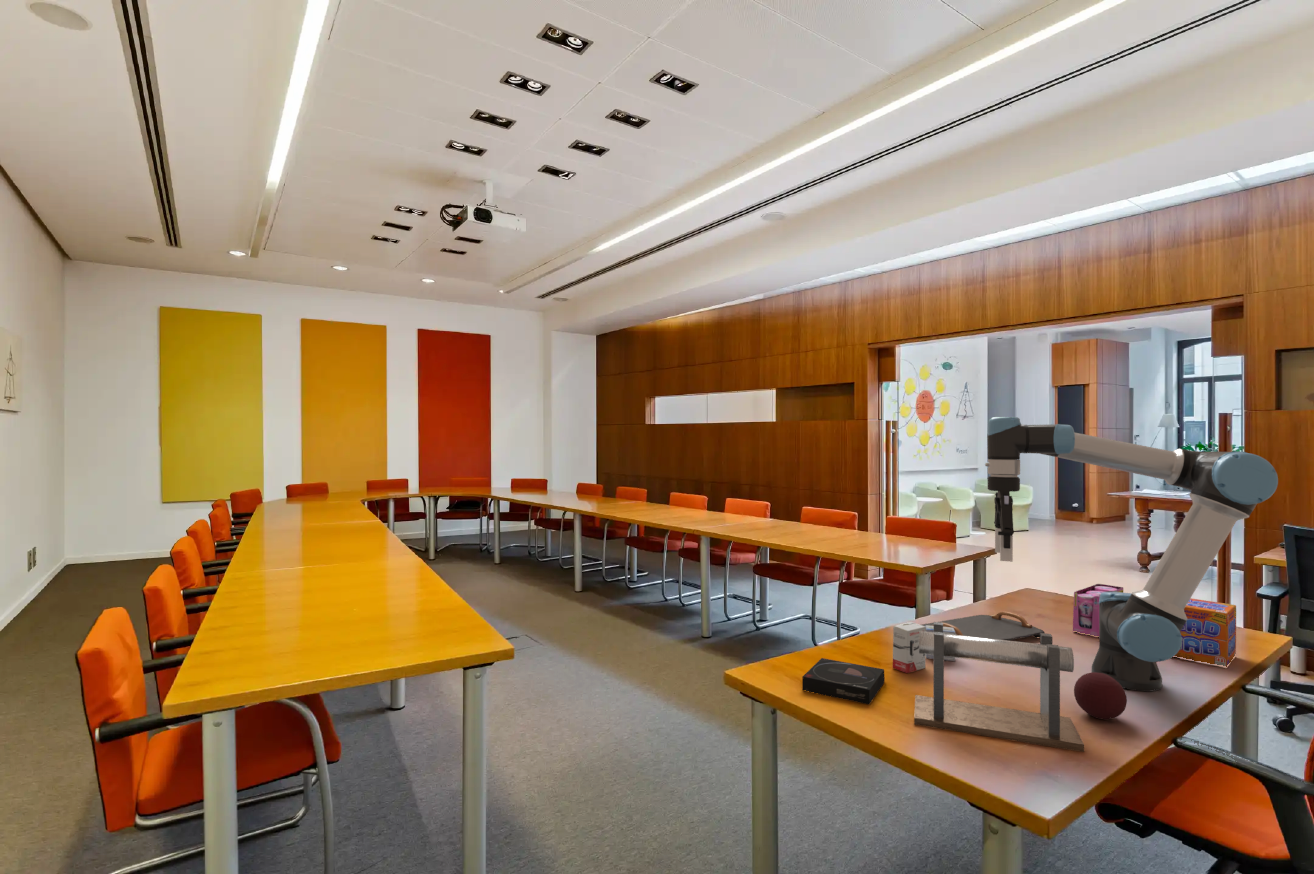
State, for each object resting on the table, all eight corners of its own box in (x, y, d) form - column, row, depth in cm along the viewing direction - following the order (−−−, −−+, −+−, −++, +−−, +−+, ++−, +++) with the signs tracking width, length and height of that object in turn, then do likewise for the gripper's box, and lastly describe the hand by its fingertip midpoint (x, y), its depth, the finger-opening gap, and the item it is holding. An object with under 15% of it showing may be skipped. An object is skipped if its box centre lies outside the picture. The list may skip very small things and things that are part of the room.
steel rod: (1068, 657, 140) (1070, 642, 137) (1071, 677, 136) (1074, 662, 134) (919, 639, 152) (919, 626, 149) (919, 657, 148) (918, 644, 145)
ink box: (907, 673, 174) (907, 630, 174) (891, 668, 178) (892, 625, 178) (926, 667, 179) (926, 625, 179) (910, 662, 183) (911, 621, 183)
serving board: (988, 621, 228) (988, 603, 228) (1053, 639, 207) (1053, 620, 207) (908, 634, 211) (908, 616, 211) (970, 656, 190) (970, 635, 190)
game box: (1157, 655, 191) (1157, 602, 191) (1169, 644, 201) (1169, 594, 201) (1227, 669, 179) (1227, 613, 179) (1236, 657, 189) (1236, 604, 190)
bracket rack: (1070, 724, 143) (1070, 634, 143) (1084, 751, 130) (1084, 653, 131) (915, 700, 156) (915, 618, 156) (914, 724, 143) (914, 633, 143)
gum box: (1097, 639, 206) (1098, 597, 206) (1070, 633, 212) (1070, 592, 212) (1124, 626, 221) (1124, 587, 221) (1097, 621, 227) (1097, 582, 227)
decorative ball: (1136, 728, 141) (1136, 683, 141) (1086, 725, 143) (1086, 680, 143) (1112, 709, 151) (1112, 667, 151) (1065, 706, 153) (1065, 664, 153)
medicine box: (953, 656, 188) (953, 627, 188) (955, 661, 184) (955, 631, 184) (924, 653, 191) (924, 624, 191) (925, 658, 187) (925, 628, 187)
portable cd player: (884, 683, 168) (884, 668, 168) (869, 706, 154) (869, 689, 154) (822, 671, 177) (822, 657, 177) (802, 692, 162) (802, 676, 162)
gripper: (983, 473, 182) (983, 548, 182) (991, 477, 159) (991, 563, 159) (1013, 474, 179) (1013, 550, 179) (1026, 478, 156) (1026, 566, 156)
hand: (1003, 556), depth 169 cm, fingers open, 13 cm apart
